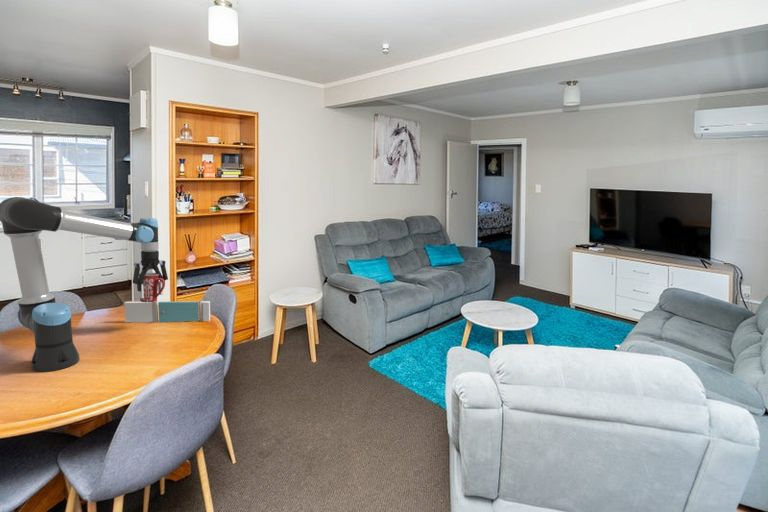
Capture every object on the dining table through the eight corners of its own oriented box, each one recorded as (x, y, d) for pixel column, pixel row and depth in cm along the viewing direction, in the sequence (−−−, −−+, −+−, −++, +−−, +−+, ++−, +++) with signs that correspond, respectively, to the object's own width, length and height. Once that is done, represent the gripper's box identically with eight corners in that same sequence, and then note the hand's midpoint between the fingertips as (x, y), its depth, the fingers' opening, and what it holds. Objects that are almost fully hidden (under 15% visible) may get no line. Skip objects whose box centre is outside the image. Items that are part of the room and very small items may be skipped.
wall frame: (209, 321, 226) (208, 301, 224) (125, 322, 219) (124, 301, 218) (210, 320, 228) (209, 300, 226) (127, 321, 221) (126, 300, 220)
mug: (133, 301, 206) (133, 274, 205) (146, 298, 215) (146, 271, 214) (157, 304, 205) (158, 276, 203) (169, 300, 214) (170, 274, 212)
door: (196, 322, 224) (196, 303, 222) (158, 323, 221) (157, 303, 219) (198, 320, 227) (198, 301, 225) (160, 320, 224) (159, 301, 222)
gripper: (167, 247, 217) (168, 291, 220) (122, 251, 200) (124, 298, 203) (175, 249, 213) (176, 293, 216) (130, 253, 195) (132, 301, 199)
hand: (151, 295), depth 209 cm, fingers closed on mug, 8 cm apart
